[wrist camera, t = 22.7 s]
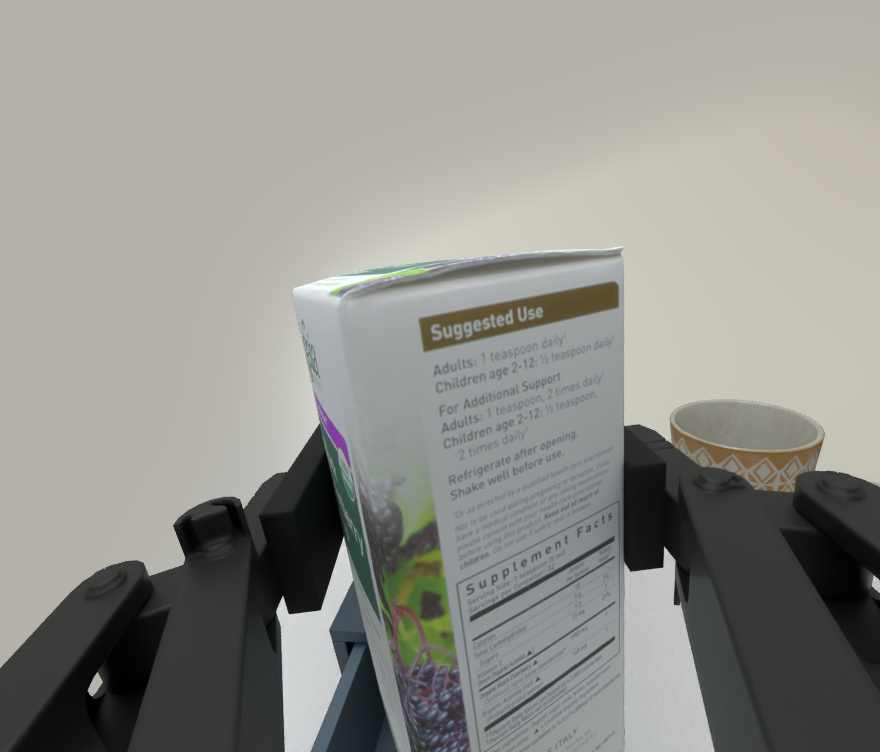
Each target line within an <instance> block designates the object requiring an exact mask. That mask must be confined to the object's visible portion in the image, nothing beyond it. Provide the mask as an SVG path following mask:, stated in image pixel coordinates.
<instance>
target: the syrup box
mask: <svg viewBox="0 0 880 752" xmlns="http://www.w3.org/2000/svg"><path fill="white" fill-rule="evenodd" d="M622 250H623V247H622V246H618V247H616V248H611V249H574V250H553V251H539V252H526V253H515V254H506V255H496V256H487V257H475V258H464V259H454V260H444V261H434V262H425V263H416V264H406V265H397V266H389V267H382V268H375V269H369V270H363V271H358V272H353V273H348V274H344V275H339V276H335V277H331V278H327V279H324V280H320V281H317V282H313V283H310V284H307V285H303V286H300V287H297V288H294V289H293V295H292V297H293V303H294V308H295V312H296V316H297V321H298V325H299V329H300V334H301V338H302V342H303V346H304V351H305V355H306V360H307V364H308V368H309V373H310V378H311V383H312V387H313V392H314V396H315V401H316V406H317V411H318V415H319V420H320V425H321V430H322V435H323V439H324V444H325V449H326V454H327V458H328V463H329V468H330V472H331V477H332V483H333V487H334V492H335V496H336V501H337V505H338V510H339V515H340V520H341V525H342V529H343V533H344V538H345V543H346V547H347V552H348V557H349V561H350V566H351V571H352V575H353V580H354V584H355V589H356V593H357V597H358V601H359V605H360V610H361V614H362V619H363V623H364V627H365V631H366V635H367V640H368V645H369V648H370V652H371V656H372V661H373V665H374V668H375V672H376V677H377V681H378V685H379V690H380V694H381V698H382V701H383V705H384V708H385V712H386V715H387V718H388V722H389V725H390V729H391V732H392V735H393V739H394V742H395V745H396V749H397V752H624V746H625V740H624V735H625V731H624V594H625V593H624V266H623V258H622V256H621V251H622Z"/></svg>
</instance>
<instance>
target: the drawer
mask: <svg viewBox="0 0 880 752" xmlns="http://www.w3.org/2000/svg"><path fill="white" fill-rule="evenodd" d="M311 752H397V749H396V745H395V742H394V739H393V735H392V732H391V729H390V725H389V722H388V718H387V715H386V712H385V708H384V705H383V701H382V698H381V694H380V690H379V685H378V681H377V677H376V672H375V668H374V665H373V661H372V656H371V652H370V648H369V645H368V643H362V642H355V644H354V647H353V649H352V652H351V654H350V657H349V659H348V662H347V664H346V666H345V669H344V671H343V674H342V676H341V679H340V681H339V684H338V686H337V689H336V691H335V693H334V696H333V698H332V701H331V703H330V706H329V708H328V711H327V713H326V716H325V718H324V721H323V723H322V725H321V728H320V730H319V733H318V735H317V738H316V740H315V743H314V745H313V748H312V750H311Z"/></svg>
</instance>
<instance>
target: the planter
mask: <svg viewBox="0 0 880 752" xmlns="http://www.w3.org/2000/svg"><path fill="white" fill-rule="evenodd" d="M670 427H671V440H672V445H674V447H675V448H677V449H679V450H680V451H681V452H683V453H684V454H685V455H686V456H688V457H689V458H690V459H691V460H693V461H694V462H695V463H697V464H698V465H699V466H700V467H712V468H720V469H723V470H727V471H730V472H734V473H736V474H737V475H739V476H741V477H743V478H745V479H746V480H747V481H748V482H749V483H750V484H751V485H752V486H753V488H754V490H765V491H783V492H794V488H795V481H796V477H797V476H798V475H800V474H801V473H805V472H811V471H815V468H816V464H817V461H818V457H819V453H820V450H821V446H822V443H823V440H824V436H825V432H824V430H823V428H822V427H821V426H820V425H819V424H818V423H817V422H816V421H814V420H813V419H811V418H810V417H808V416H806V415H803V414H801V413H799V412H796V411H793V410H790V409H787V408H784V407H780V406H776V405H771V404H766V403H761V402H753V401H745V400H705V401H698V402H693V403H689V404H686V405H683V406H681V407H678V408H677V409H675V410H674V411H673V412H672V413H671V415H670Z"/></svg>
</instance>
